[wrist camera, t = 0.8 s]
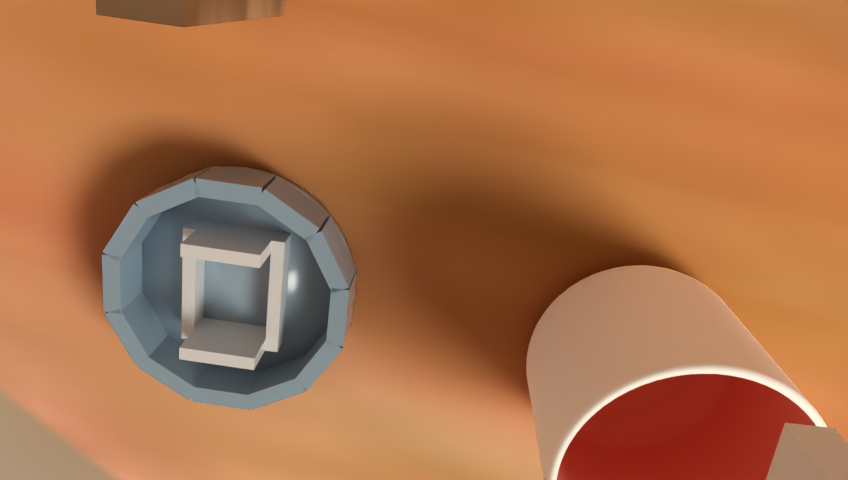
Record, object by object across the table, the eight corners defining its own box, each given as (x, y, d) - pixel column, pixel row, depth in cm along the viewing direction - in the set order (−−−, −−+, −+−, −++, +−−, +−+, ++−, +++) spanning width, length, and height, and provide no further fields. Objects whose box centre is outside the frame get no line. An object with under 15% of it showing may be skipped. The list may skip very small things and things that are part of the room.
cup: (494, 402, 35) (506, 554, 25) (570, 227, 31) (616, 327, 22) (676, 460, 35) (753, 629, 26) (769, 294, 32) (898, 418, 23)
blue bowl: (129, 149, 31) (89, 168, 28) (367, 184, 31) (355, 207, 28) (132, 359, 35) (97, 397, 32) (344, 389, 35) (332, 432, 31)
